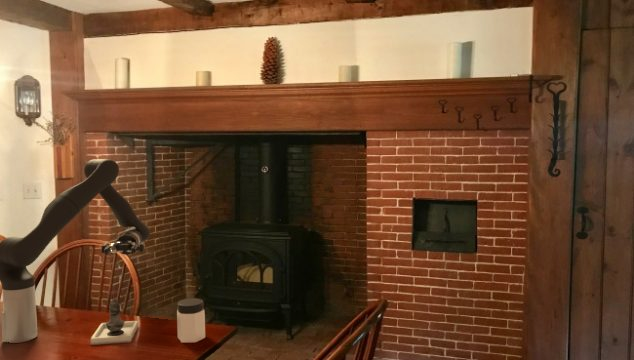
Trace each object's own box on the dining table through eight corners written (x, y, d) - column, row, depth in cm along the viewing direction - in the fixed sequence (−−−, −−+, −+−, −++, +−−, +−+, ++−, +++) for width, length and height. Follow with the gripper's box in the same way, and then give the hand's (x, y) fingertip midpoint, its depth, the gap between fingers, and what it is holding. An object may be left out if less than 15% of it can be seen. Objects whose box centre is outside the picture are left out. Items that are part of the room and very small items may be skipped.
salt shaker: (112, 338, 169) (110, 301, 168) (102, 334, 173) (100, 298, 172) (128, 332, 174) (127, 297, 173) (118, 328, 177) (117, 294, 176)
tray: (90, 344, 165) (90, 338, 165) (101, 328, 179) (101, 323, 179) (130, 342, 167) (130, 336, 167) (138, 326, 181) (137, 320, 181)
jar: (208, 340, 168) (207, 303, 167) (182, 345, 164) (181, 307, 164) (199, 331, 176) (198, 296, 175) (175, 335, 172) (174, 300, 171)
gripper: (108, 233, 197) (97, 241, 181) (147, 232, 199) (140, 240, 183) (109, 253, 197) (98, 262, 181) (148, 251, 199) (141, 261, 183)
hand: (119, 251), depth 182 cm, fingers open, 8 cm apart
